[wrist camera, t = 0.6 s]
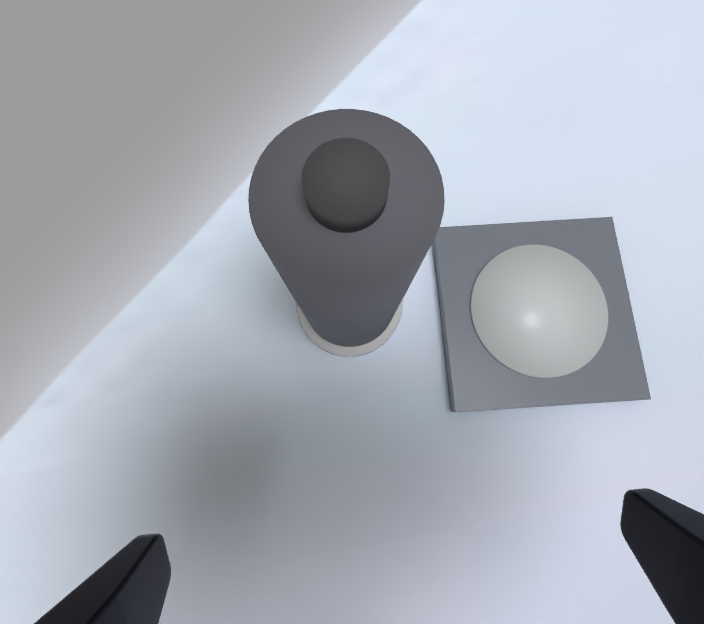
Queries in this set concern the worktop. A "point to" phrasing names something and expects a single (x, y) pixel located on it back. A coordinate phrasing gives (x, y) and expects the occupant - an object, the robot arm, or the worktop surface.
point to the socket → (536, 315)
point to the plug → (347, 222)
